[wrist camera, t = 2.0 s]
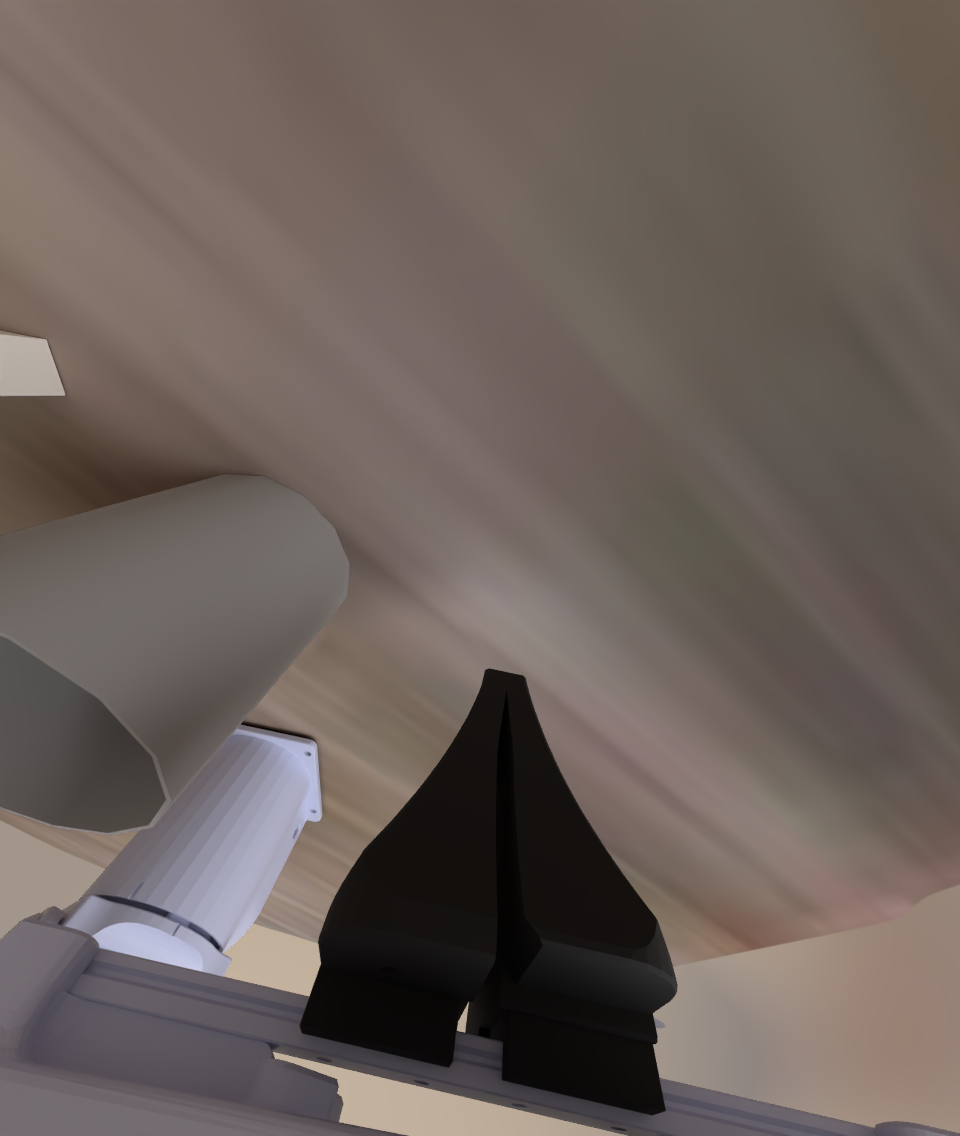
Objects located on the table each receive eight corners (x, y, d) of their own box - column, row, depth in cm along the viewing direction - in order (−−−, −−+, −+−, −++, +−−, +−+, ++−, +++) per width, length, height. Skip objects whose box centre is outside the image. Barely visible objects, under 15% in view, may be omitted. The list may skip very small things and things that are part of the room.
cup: (154, 538, 17) (-233, 692, 8) (244, 433, 14) (-199, 496, 6) (284, 650, 20) (93, 859, 11) (383, 580, 17) (233, 785, 8)
